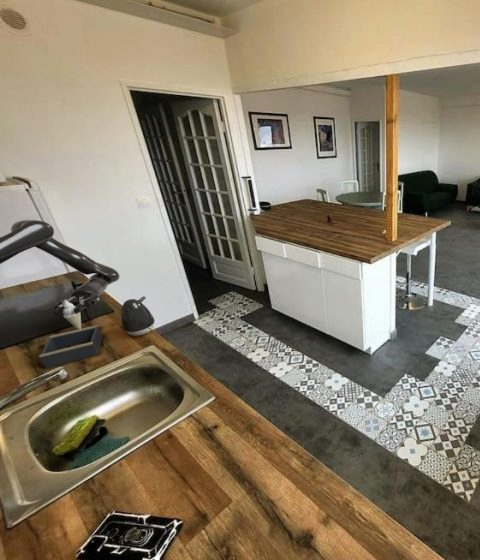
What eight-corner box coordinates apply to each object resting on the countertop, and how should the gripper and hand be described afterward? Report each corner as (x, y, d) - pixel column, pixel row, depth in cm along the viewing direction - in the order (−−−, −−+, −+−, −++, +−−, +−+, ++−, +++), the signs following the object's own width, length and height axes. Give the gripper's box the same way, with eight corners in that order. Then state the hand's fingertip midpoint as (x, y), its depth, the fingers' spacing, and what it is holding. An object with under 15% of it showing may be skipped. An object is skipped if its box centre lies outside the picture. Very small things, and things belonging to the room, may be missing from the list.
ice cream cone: (91, 329, 128) (75, 298, 121) (75, 336, 124) (58, 303, 117) (86, 326, 130) (70, 295, 124) (70, 332, 126) (53, 300, 120)
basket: (46, 368, 107) (39, 356, 105) (55, 347, 117) (49, 336, 115) (97, 354, 114) (91, 343, 112) (102, 336, 124) (97, 325, 122)
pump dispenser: (163, 328, 130) (152, 296, 123) (136, 342, 121) (122, 308, 115) (148, 322, 134) (136, 291, 127) (121, 335, 125) (107, 302, 119)
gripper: (63, 287, 131) (37, 306, 116) (104, 283, 135) (85, 301, 121) (70, 302, 134) (46, 323, 120) (111, 298, 138) (92, 317, 124)
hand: (66, 312), depth 120 cm, fingers open, 5 cm apart
